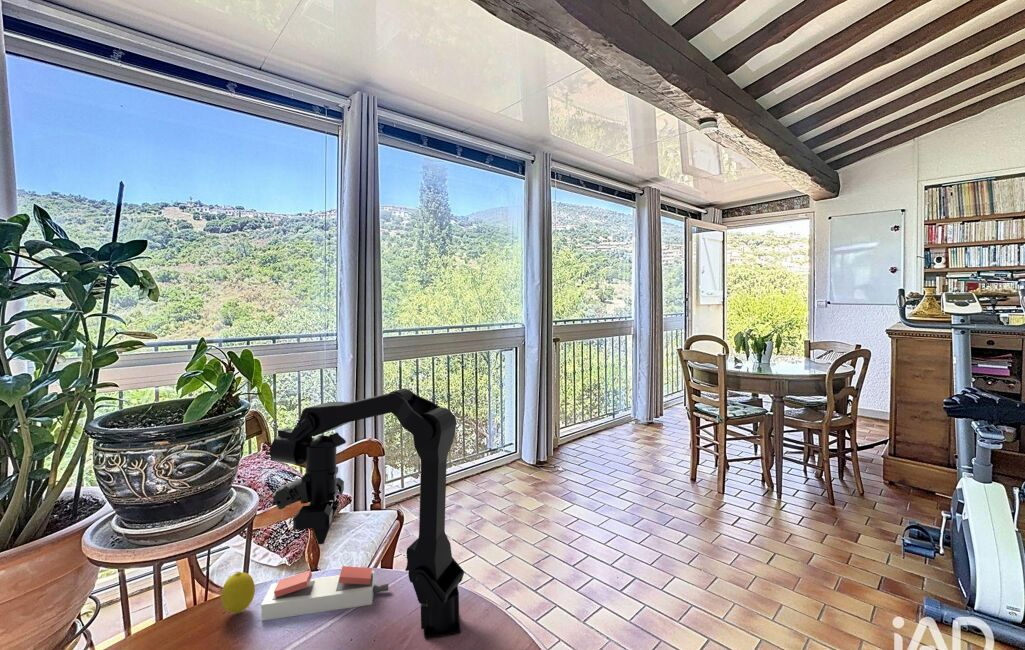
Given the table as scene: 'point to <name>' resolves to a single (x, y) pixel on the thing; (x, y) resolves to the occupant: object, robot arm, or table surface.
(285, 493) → the robot arm
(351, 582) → the block
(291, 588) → the block
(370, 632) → the table surface
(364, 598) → the power strip
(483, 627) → the table surface
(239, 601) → the lemon
